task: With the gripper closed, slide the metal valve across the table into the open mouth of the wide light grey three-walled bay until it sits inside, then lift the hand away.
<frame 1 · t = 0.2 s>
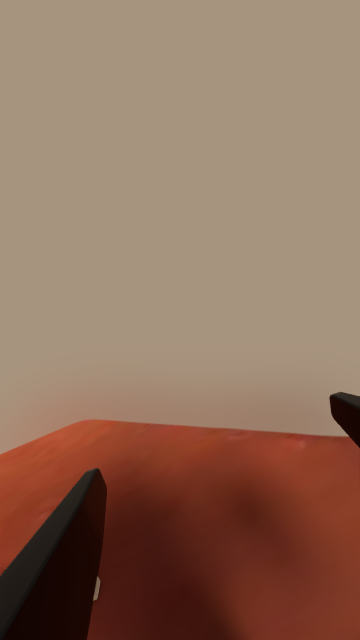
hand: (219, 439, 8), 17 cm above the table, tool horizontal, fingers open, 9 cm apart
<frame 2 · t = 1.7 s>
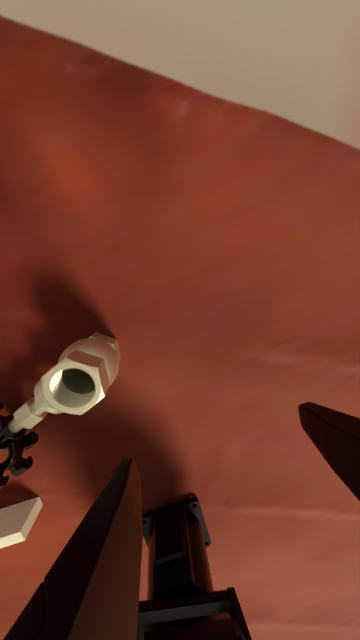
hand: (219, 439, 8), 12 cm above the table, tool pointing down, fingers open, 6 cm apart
valve: (68, 377, 20), on the table
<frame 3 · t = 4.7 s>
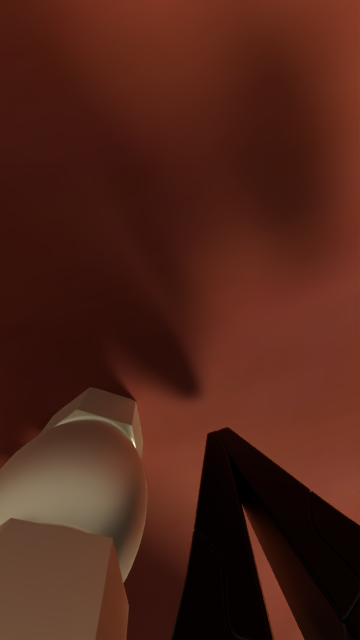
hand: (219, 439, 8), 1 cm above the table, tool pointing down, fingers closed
valve: (32, 475, 9), on the table, touching gripper
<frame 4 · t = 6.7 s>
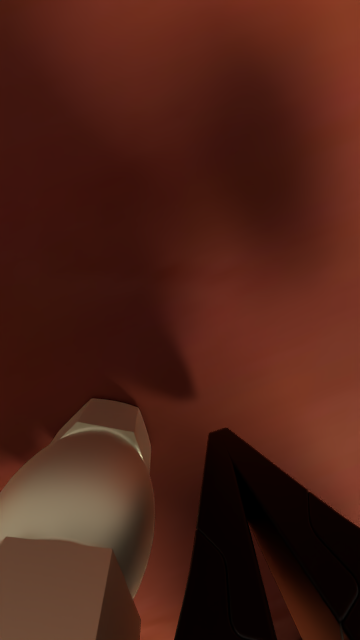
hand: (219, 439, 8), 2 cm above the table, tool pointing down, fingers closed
valve: (47, 493, 9), on the table, touching gripper
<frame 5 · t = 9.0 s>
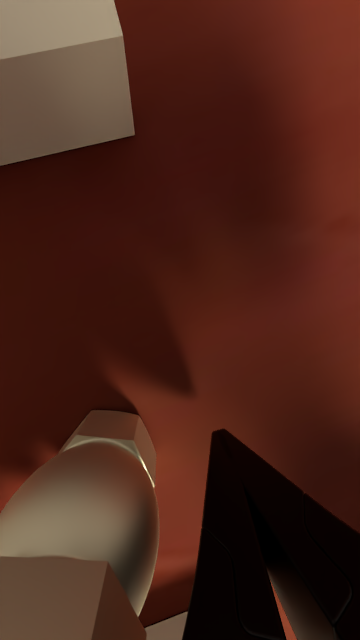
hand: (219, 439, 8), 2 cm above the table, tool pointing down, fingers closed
valve: (58, 509, 9), on the table, touching bay, gripper
bay: (41, 470, 9), on the table
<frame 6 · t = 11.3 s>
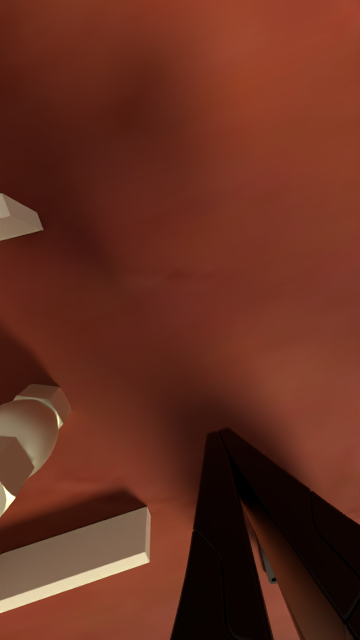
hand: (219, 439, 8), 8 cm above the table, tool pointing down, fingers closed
valve: (14, 443, 16), on the table
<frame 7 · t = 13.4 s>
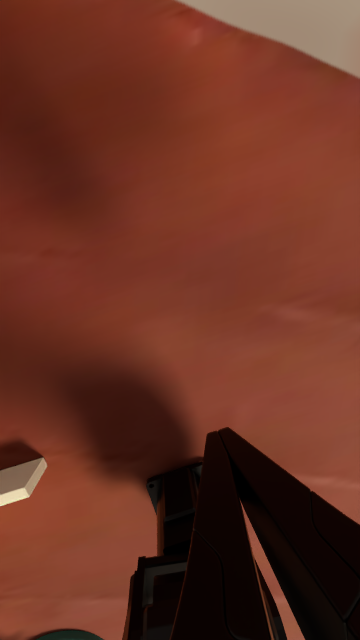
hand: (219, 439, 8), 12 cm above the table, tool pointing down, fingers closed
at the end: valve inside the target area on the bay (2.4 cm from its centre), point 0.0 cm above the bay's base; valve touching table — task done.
